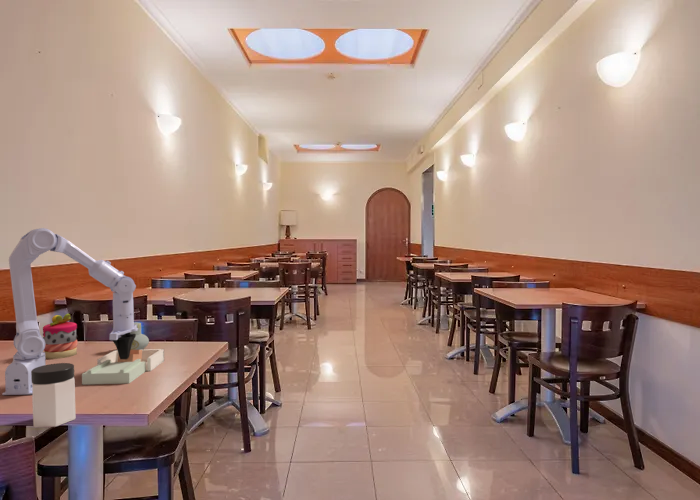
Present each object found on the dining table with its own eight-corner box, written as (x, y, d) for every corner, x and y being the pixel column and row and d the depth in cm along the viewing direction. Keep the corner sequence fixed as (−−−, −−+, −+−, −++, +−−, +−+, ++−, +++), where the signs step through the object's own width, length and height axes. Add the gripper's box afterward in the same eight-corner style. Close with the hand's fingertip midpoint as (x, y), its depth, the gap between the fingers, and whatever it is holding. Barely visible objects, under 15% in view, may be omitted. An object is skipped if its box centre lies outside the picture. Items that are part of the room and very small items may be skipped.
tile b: (139, 349, 148) (142, 349, 151) (124, 349, 148) (128, 350, 150) (137, 364, 147) (140, 364, 150) (123, 364, 147) (126, 364, 149)
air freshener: (113, 353, 165) (112, 326, 165) (121, 348, 174) (120, 322, 173) (144, 352, 167) (144, 325, 167) (151, 347, 175) (151, 321, 175)
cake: (35, 358, 160) (34, 315, 160) (61, 351, 170) (60, 310, 170) (60, 359, 158) (59, 316, 157) (84, 352, 168) (83, 311, 168)
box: (150, 371, 143) (150, 358, 143) (97, 372, 142) (97, 359, 142) (164, 360, 155) (164, 349, 155) (115, 362, 154) (115, 350, 154)
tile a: (132, 362, 143) (133, 354, 143) (117, 362, 143) (118, 354, 143) (138, 362, 147) (139, 354, 148) (123, 362, 147) (124, 354, 148)
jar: (84, 412, 108) (82, 362, 108) (66, 426, 100) (64, 371, 100) (43, 414, 108) (42, 363, 107) (22, 428, 99) (20, 373, 99)
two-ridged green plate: (129, 383, 131) (129, 369, 131) (82, 384, 130) (81, 370, 130) (145, 371, 143) (145, 358, 142) (102, 372, 142) (102, 359, 142)
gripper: (126, 318, 135) (127, 364, 135) (145, 310, 150) (146, 352, 150) (101, 318, 135) (102, 365, 135) (123, 311, 149) (124, 353, 149)
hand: (124, 358), depth 142 cm, fingers closed
